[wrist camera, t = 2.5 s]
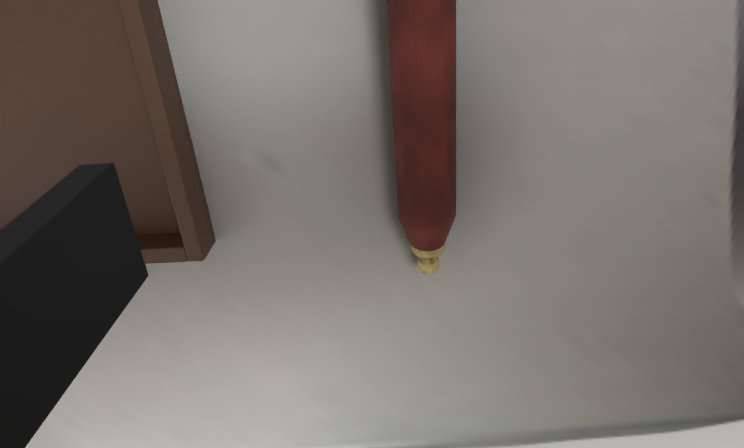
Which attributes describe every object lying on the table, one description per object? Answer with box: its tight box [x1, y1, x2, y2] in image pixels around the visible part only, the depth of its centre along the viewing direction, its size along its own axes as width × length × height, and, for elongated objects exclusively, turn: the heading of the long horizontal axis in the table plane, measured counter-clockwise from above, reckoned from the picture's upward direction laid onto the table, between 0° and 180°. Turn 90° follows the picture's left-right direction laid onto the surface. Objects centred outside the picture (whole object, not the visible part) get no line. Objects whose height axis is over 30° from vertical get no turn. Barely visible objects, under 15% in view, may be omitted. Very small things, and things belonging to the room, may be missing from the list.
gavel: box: [387, 0, 456, 274], centre depth 26 cm, size 21×5×10 cm
